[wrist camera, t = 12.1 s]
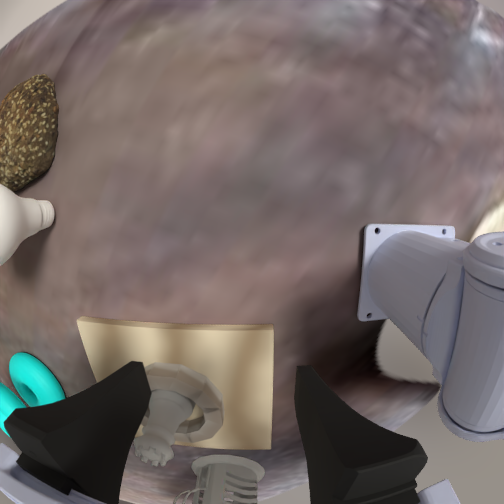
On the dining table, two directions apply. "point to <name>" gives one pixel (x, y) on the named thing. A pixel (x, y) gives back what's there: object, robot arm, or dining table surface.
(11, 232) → the lightbulb
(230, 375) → the ring board
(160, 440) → the rook chess piece
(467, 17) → the dining table surface
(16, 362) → the donuts
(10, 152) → the bread roll
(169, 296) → the dining table surface
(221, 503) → the french press
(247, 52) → the dining table surface
